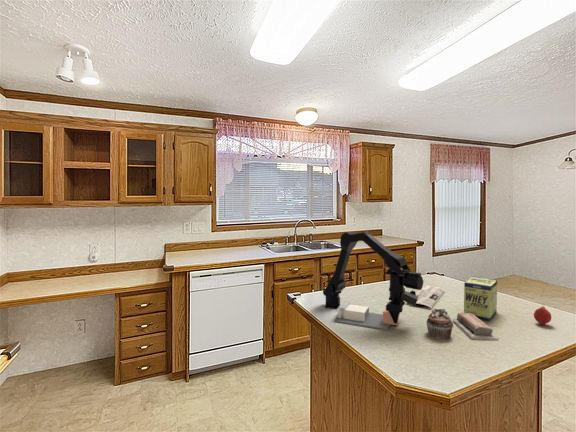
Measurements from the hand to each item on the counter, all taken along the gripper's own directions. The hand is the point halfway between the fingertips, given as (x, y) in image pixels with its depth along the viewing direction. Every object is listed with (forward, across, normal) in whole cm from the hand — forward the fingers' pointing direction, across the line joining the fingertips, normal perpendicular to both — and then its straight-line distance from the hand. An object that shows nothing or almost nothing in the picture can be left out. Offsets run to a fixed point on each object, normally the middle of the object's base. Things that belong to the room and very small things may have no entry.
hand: (396, 321), depth 136 cm
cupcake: (+2, -4, -17) cm, 17 cm away
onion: (+2, +24, -56) cm, 61 cm away
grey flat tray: (+1, 0, +14) cm, 14 cm away
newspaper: (+2, +44, -10) cm, 45 cm away
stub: (+1, 0, +2) cm, 2 cm away
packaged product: (+2, +7, -29) cm, 30 cm away
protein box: (+2, +28, -34) cm, 44 cm away
